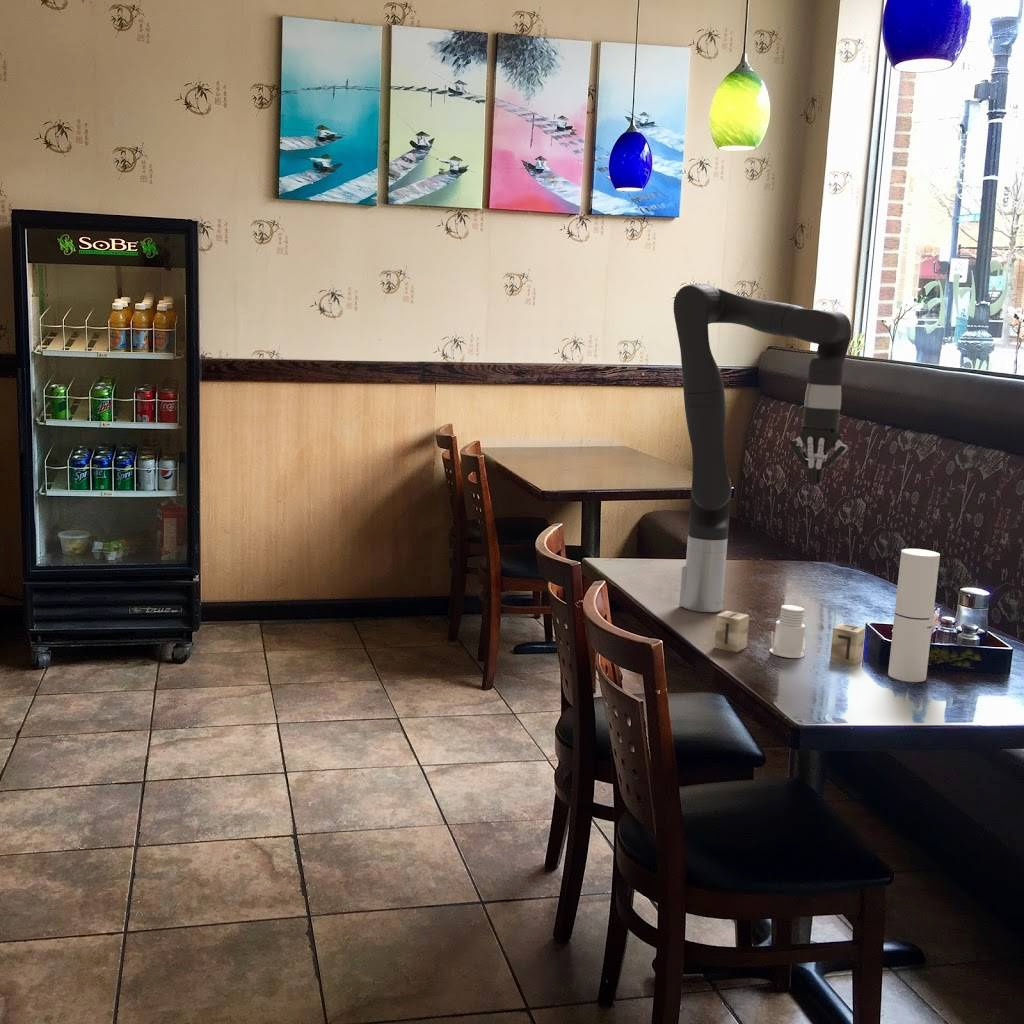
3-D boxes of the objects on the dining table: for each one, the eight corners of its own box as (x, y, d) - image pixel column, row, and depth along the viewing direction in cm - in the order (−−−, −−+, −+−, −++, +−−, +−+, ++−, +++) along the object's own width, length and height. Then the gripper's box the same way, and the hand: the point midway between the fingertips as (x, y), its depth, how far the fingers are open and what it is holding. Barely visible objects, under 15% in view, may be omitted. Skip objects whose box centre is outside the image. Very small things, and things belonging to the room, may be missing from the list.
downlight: (778, 659, 242) (784, 611, 240) (761, 649, 248) (767, 603, 246) (812, 659, 244) (818, 612, 242) (794, 649, 251) (800, 603, 249)
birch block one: (714, 647, 248) (716, 614, 247) (724, 642, 252) (727, 610, 251) (736, 652, 245) (739, 619, 244) (746, 647, 250) (749, 614, 248)
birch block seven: (829, 661, 243) (833, 627, 241) (838, 655, 247) (841, 622, 245) (853, 666, 240) (857, 632, 239) (862, 660, 244) (865, 627, 243)
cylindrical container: (880, 672, 236) (893, 549, 232) (909, 669, 239) (923, 548, 235) (904, 683, 230) (917, 556, 226) (933, 680, 232) (948, 555, 228)
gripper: (786, 403, 255) (779, 483, 258) (846, 409, 248) (838, 491, 251) (799, 402, 261) (792, 480, 264) (858, 407, 254) (850, 487, 257)
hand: (814, 485), depth 257 cm, fingers closed
